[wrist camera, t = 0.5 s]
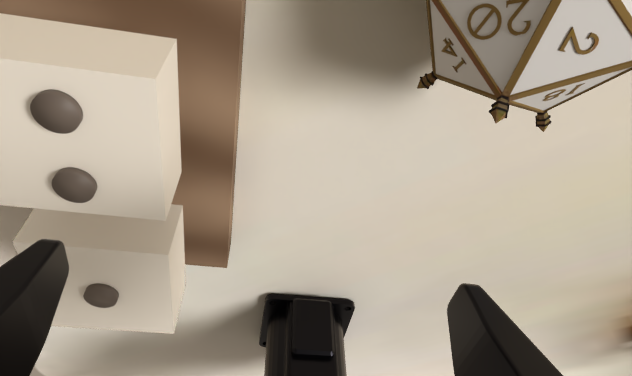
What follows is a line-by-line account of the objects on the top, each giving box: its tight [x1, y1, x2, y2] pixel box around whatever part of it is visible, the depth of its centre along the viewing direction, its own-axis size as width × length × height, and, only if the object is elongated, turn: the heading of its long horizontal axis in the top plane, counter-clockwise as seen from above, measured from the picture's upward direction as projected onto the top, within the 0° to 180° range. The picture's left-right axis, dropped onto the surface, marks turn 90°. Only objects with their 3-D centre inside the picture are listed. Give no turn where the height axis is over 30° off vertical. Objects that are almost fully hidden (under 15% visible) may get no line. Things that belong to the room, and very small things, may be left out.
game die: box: [417, 0, 632, 132], centre depth 15 cm, size 9×8×10 cm
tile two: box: [0, 13, 182, 221], centre depth 16 cm, size 6×6×3 cm
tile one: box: [12, 204, 186, 334], centre depth 21 cm, size 6×6×3 cm
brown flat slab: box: [0, 0, 246, 268], centre depth 22 cm, size 16×10×2 cm, turn 171°
